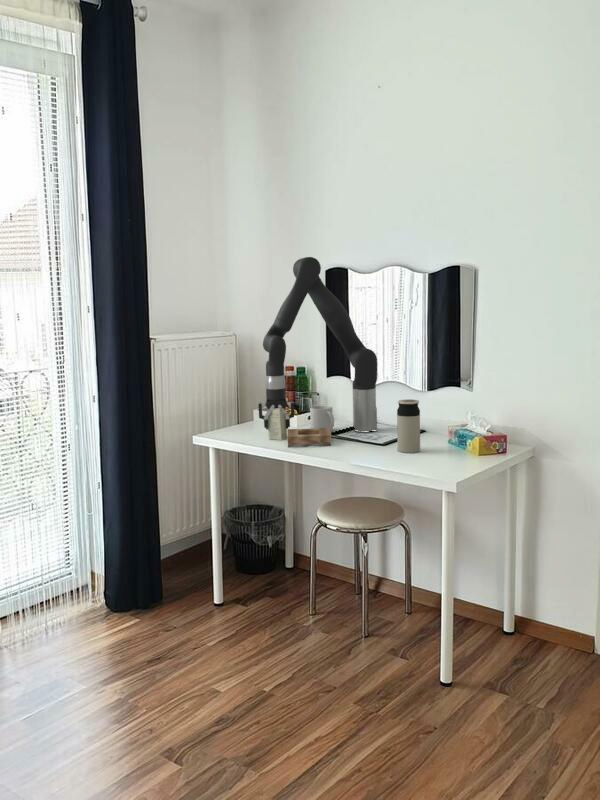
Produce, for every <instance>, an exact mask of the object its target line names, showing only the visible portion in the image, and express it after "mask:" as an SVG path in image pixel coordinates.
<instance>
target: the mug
mask: <svg viewBox="0 0 600 800" xmlns="http://www.w3.org/2000/svg"><path fill="white" fill-rule="evenodd" d="M309 411H310V412H309V414H310V417H309V418H310V429H312V428H329V430H330V434H331V433H333V432H334V426H335V417H334V415H333V406H331V405H323V404H320V405H312V406H311V407H310V409H309ZM332 431H333V432H332Z"/></svg>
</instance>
